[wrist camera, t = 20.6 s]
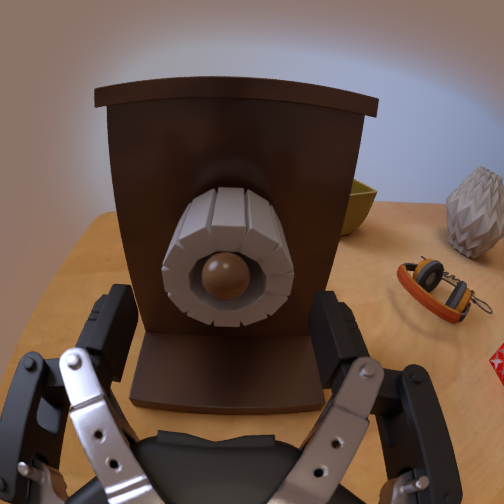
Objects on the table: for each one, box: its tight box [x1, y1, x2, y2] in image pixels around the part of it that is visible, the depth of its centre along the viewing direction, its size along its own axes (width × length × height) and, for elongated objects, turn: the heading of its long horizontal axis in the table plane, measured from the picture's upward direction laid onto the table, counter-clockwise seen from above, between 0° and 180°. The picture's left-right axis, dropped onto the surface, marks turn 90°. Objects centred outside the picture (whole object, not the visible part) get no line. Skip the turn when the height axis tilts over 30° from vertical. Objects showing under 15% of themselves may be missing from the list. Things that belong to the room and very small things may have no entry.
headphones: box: [397, 256, 492, 323], centre depth 31 cm, size 17×5×20 cm
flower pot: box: [341, 179, 377, 236], centre depth 45 cm, size 9×9×9 cm
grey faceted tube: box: [162, 187, 294, 327], centre depth 16 cm, size 7×5×7 cm
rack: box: [94, 76, 379, 415], centre depth 17 cm, size 16×10×23 cm, turn 92°
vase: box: [446, 166, 504, 259], centre depth 41 cm, size 16×16×18 cm
